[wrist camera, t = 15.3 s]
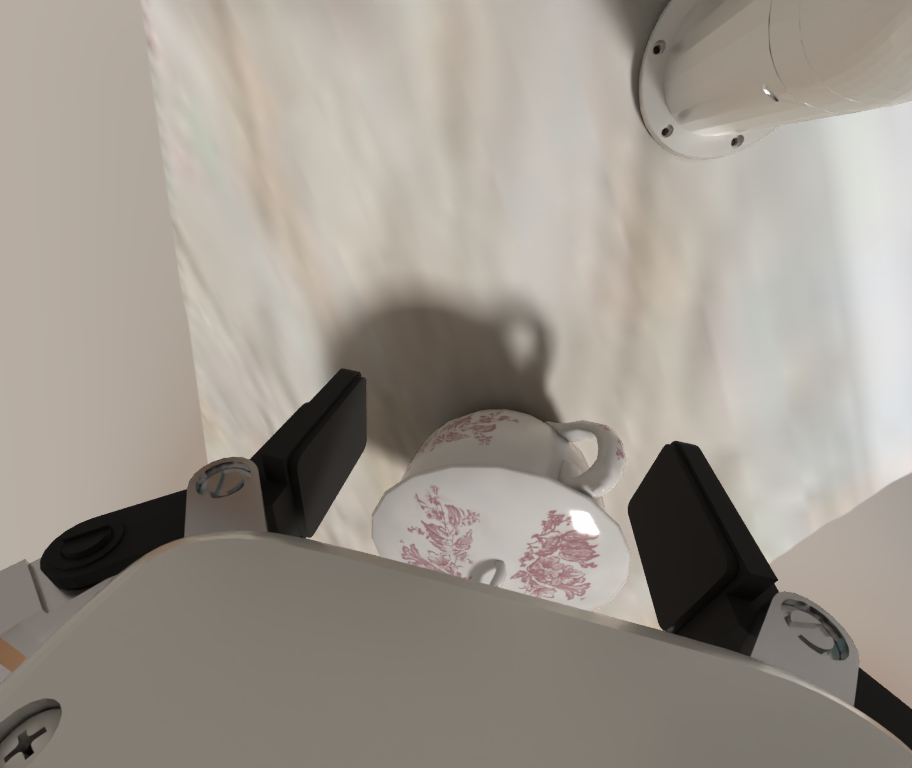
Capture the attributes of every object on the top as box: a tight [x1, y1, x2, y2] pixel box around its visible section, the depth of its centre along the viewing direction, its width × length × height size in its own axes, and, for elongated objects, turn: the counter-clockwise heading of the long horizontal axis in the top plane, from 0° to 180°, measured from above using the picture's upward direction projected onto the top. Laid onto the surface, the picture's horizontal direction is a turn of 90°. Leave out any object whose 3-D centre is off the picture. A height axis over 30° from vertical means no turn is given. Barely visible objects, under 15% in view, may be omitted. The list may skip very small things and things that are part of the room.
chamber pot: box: [372, 409, 631, 612], centre depth 43 cm, size 28×28×21 cm
